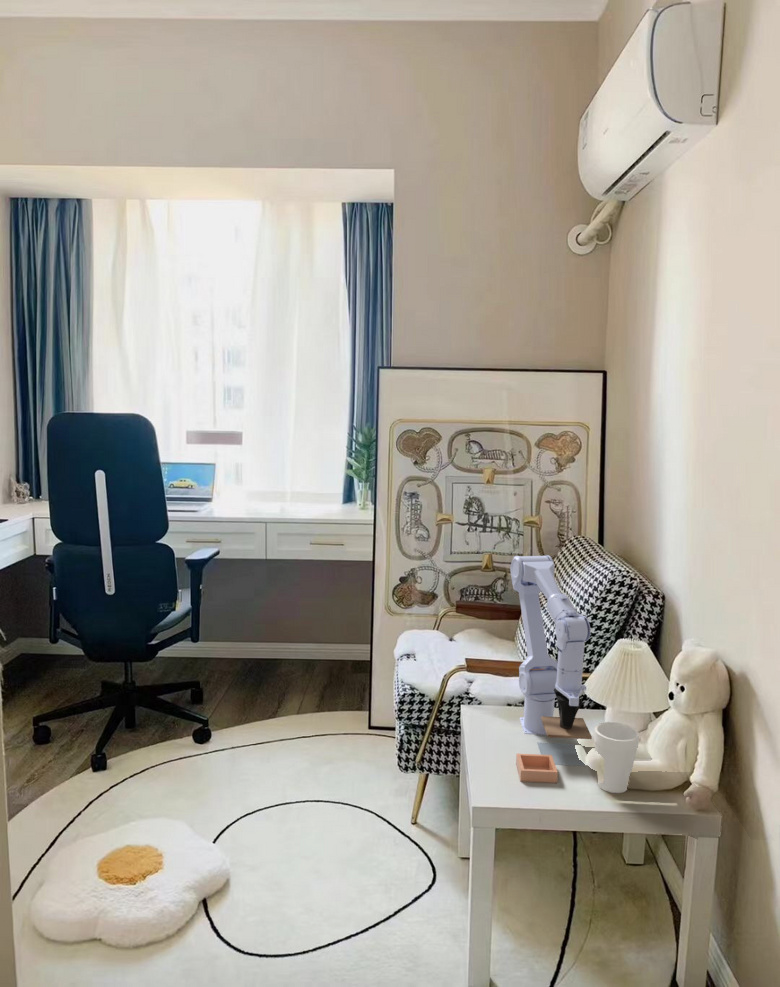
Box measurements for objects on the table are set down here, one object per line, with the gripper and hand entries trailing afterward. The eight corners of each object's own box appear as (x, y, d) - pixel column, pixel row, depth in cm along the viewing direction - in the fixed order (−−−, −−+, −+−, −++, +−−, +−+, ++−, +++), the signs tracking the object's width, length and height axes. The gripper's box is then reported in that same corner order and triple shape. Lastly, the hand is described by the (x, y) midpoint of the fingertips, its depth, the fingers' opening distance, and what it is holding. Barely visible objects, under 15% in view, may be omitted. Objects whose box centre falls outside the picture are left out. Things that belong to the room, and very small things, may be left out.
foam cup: (639, 784, 181) (644, 729, 179) (628, 803, 173) (633, 745, 171) (596, 772, 186) (601, 718, 184) (584, 790, 178) (588, 733, 176)
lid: (540, 718, 197) (542, 700, 197) (582, 720, 197) (584, 702, 196) (547, 737, 188) (548, 718, 187) (591, 739, 187) (593, 720, 187)
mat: (536, 744, 199) (537, 742, 199) (582, 746, 199) (582, 744, 199) (543, 766, 188) (544, 764, 188) (592, 768, 188) (592, 766, 188)
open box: (515, 765, 188) (516, 753, 187) (550, 767, 188) (551, 755, 187) (520, 783, 180) (521, 770, 179) (556, 785, 180) (557, 772, 179)
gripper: (594, 680, 183) (589, 737, 185) (581, 657, 197) (577, 710, 199) (562, 678, 183) (558, 736, 185) (551, 655, 197) (547, 709, 199)
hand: (566, 722), depth 192 cm, fingers closed on lid, 3 cm apart
